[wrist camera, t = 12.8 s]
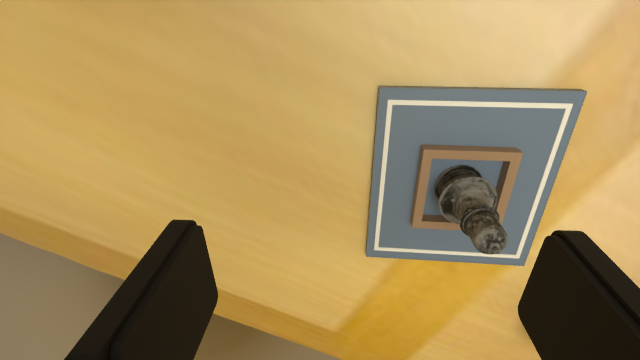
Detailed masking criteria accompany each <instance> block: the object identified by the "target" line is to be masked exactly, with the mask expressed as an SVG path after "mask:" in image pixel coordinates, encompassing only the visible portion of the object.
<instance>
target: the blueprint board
mask: <svg viewBox="0 0 640 360" xmlns="http://www.w3.org/2000/svg"><path fill="white" fill-rule="evenodd" d="M586 94H587V91H584V90H582V89H536V88H479V87H423V86H379V91H378V104H377V117H376V130H375V142H374V155H373V168H372V180H371V193H370V206H369V218H368V231H367V244H366V257H383V258H400V259H417V260H433V261H450V262H467V263H484V264H501V265H518V266H524V265H525V262H526V259H527V256H528V254H529V251H530V248H531V245H532V243H533V240H534V237H535V234H536V231H537V229H538V226H539V223H540V220H541V218H542V215H543V212H544V209H545V207H546V204H547V201H548V198H549V196H550V193H551V190H552V187H553V185H554V182H555V179H556V176H557V174H558V171H559V168H560V165H561V163H562V160H563V157H564V154H565V152H566V149H567V146H568V143H569V140H570V138H571V135H572V132H573V129H574V127H575V124H576V121H577V118H578V116H579V113H580V110H581V107H582V105H583V102H584V99H585V96H586ZM456 165H467V166H470V167H473V168H475V169H476V170H477V171H478V172H479V173H480V174H481V176H482V178H483V179H486V180H487V181H489V182H490V183H491V184H492V185H493V186H494V188H495V189H496V192H497V203H496V206H495V208H494V209H495V210H496V211H497V212H498V214H499V216H500V224H501V226H502V227H503V229H504V230H505V232H506V233H507V236H508V243H507V245H506V247H505V248H504V249H503V250H502V251H501V252H500V253H499V254H491V255H489V254H483V253H481V252H479V251H478V250H477V249H476V248H475V247H474V245H473V243H472V241H471V239H470V237H469V236H467V235H466V234H464V233H463V231H462V230H461V228H460V224H455V223H452V222H450V221H448V220H447V219H446V218H445V217H444V216H443V215H442V214H441V212H440V209H439V198H438V197H437V196H436V193H435V183H436V180H437V178H438V177H439V175H440V174H441V173H442V172H443V171H445V170H446V169H448V168H450V167H453V166H456Z"/></svg>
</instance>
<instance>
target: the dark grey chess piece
mask: <svg viewBox="0 0 640 360" xmlns="http://www.w3.org/2000/svg"><path fill="white" fill-rule="evenodd" d="M435 193H436V196H437V197H438V198H439V209H440V212H441V214H442V215H443V216H444V217H445V218H446V219H447V220H448V221H450V222H452V223H455V224H460V228H461V230H462V231H463V233H464V234H466V235H467V236H469V237H470V239H471V241H472V243H473V245H474V247H475V248H476V249H477V250H478V251H479V252H481V253H483V254H489V255H491V254H499V253H500V252H501V251H502V250H503V249H504V248H505V247H506V245H507V243H508V236H507V233H506V232H505V230H504V229H503V227H502V226H501V224H500V216H499V214H498V212H497V211H496V210H495V209H494V208H495V206H496V203H497V192H496V189H495V188H494V186H493V185H492V184H491V183H490V182H489V181H487V180H486V179H483V178H482V176H481V174H480V173H479V172H478V171H477V170H476V169H475V168H473V167H470V166H467V165H456V166H453V167H450V168H448V169H446V170H445V171H443V172H442V173H441V174H440V175H439V177H438V178H437V180H436V183H435Z"/></svg>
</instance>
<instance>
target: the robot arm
mask: <svg viewBox="0 0 640 360" xmlns="http://www.w3.org/2000/svg"><path fill="white" fill-rule="evenodd" d="M217 299H218V291H217V287H216V283H215V279H214V275H213V270H212V266H211V262H210V258H209V254H208V249H207V245H206V241H205V237H204V233H203V229H202V227H201V226H197V224H196V222H195V221H193V220H172V221H171V222H170V223H169V224H168V225H167V227H166V228H165V229H164V231H163V232H162V233H161V235H160V236H159V237H158V238H157V240H156V241H155V242H154V244H153V245H152V246H151V248H150V249H149V250H148V251H147V253H146V254H145V255H144V257H143V258H142V259H141V261H140V262H139V263H138V264H137V266H136V267H135V268H134V270H133V271H132V272H131V273H130V275H129V276H128V277H127V279H126V280H125V281H124V283H123V284H122V285H121V286H120V288H119V289H118V290H117V292H116V293H115V294H114V296H113V297H112V298H111V299H110V301H109V302H108V304H107V305H106V306H105V307H104V309H103V310H102V311H101V313H100V314H99V315H98V317H97V318H96V319H95V320H94V322H93V323H92V324H91V326H90V327H89V328H88V329H87V331H86V332H85V333H84V335H83V336H82V337H81V338H80V340H79V341H78V342H77V344H76V345H75V346H74V348H73V349H72V350H71V352H70V353H69V354H68V356H67V357H66V358H65V359H64V360H193V359H194V357H195V354H196V352H197V350H198V347H199V345H200V342H201V340H202V338H203V335H204V333H205V330H206V328H207V326H208V323H209V321H210V318H211V316H212V314H213V311H214V309H215V307H216V304H217ZM518 314H519V317H520V320H521V322H522V324H523V325H524V327H525V329H526V331H527V333H528V335H529V337H530V339H531V340H532V342H533V344H534V346H535V348H536V350H537V352H538V354H539V356H540V357H541V359H542V360H640V288H639V287H638V286H637V285H636V284H635V283H634V282H633V281H632V280H631V279H630V278H629V277H628V276H627V275H626V274H625V273H624V272H623V271H622V270H621V269H620V268H619V267H618V266H617V265H616V264H615V263H614V262H613V261H612V260H611V259H610V258H609V257H608V256H607V255H606V254H605V253H604V252H603V251H602V250H601V249H600V248H599V247H598V246H597V245H596V244H595V243H594V242H593V241H592V240H591V239H590V238H589V237H588V236H587V235H586V234H585V233H584V232H581V231H562V230H557V231H554V232H553V233H552V234H551V236H547V237H546V238H545V240H544V242H543V244H542V247H541V249H540V252H539V254H538V257H537V259H536V262H535V264H534V267H533V269H532V272H531V274H530V277H529V279H528V282H527V285H526V287H525V290H524V292H523V295H522V297H521V300H520V302H519V305H518Z"/></svg>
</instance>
